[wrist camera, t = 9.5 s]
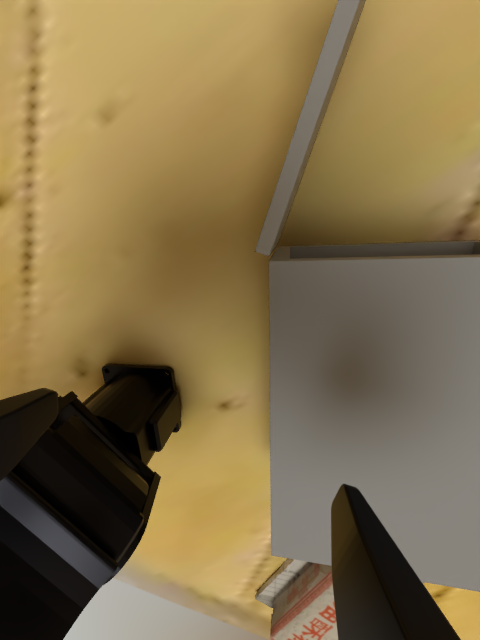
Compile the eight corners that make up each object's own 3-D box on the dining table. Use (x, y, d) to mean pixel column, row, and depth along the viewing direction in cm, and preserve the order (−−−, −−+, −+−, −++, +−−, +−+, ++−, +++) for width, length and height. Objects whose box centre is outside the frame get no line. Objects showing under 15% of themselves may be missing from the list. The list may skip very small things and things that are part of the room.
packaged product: (338, 692, 27) (249, 645, 27) (331, 626, 32) (255, 585, 32) (471, 617, 20) (352, 555, 21) (439, 546, 25) (342, 496, 25)
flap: (277, 243, 18) (256, 273, 7) (263, 238, 18) (221, 260, 7) (363, 6, 13) (652, -868, 3) (344, 0, 14) (550, -876, 3)
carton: (277, 453, 24) (271, 555, 17) (278, 246, 18) (269, 261, 11) (427, 469, 22) (496, 594, 14) (481, 240, 16) (643, 253, 9)
